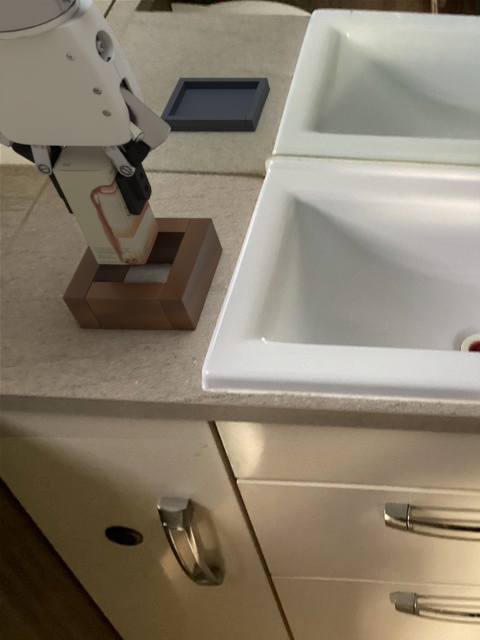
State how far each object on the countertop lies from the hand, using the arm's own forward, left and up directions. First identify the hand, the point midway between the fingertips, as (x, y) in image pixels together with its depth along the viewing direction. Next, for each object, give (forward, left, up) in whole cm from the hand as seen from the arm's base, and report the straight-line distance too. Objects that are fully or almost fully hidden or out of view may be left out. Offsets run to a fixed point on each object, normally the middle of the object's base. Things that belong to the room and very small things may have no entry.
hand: (110, 202), depth 67 cm
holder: (0, 0, -10) cm, 10 cm away
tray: (-1, +29, -10) cm, 31 cm away
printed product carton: (0, 0, -5) cm, 5 cm away
